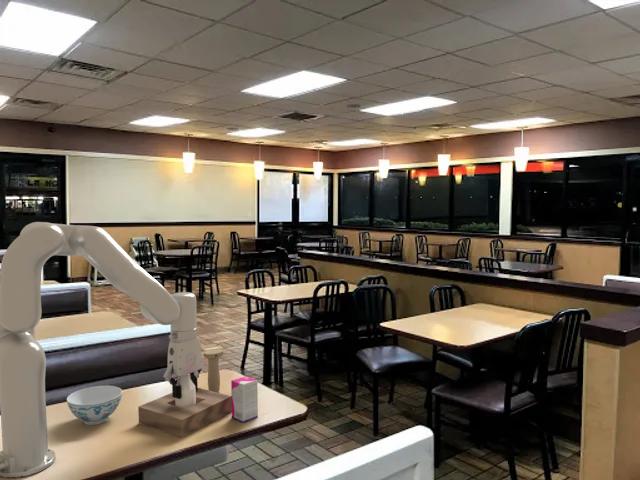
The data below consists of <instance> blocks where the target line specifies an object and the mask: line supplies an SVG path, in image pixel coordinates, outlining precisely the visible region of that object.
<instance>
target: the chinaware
mask: <svg viewBox="0 0 640 480" xmlns="http://www.w3.org/2000/svg"><path fill="white" fill-rule="evenodd" d="M122 396H123V390H122V388H120V387H118V386H115V385H98V386H95V385H94V386H90V387H86V388H82V389H78V390H76V391H74V392H71V393H70V394H69V395H68V396H67V398H66V403H67V407H68V409H69V410H70V412H71V413H72V414H73V416H74V417H76V418H77V419H79V420H80V421H81V420H82V421H83V424H85V425H87V426H94V425H99V424H102V423H105V422H106V421H108V419H109V416H111V415H112V414H114V412H115V411H116V410H117V408H118V407H119V405H120V402H121V400H122Z"/></svg>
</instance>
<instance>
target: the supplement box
mask: <svg viewBox="0 0 640 480" xmlns="http://www.w3.org/2000/svg"><path fill="white" fill-rule="evenodd" d="M230 381H231V382H230V384H231V385H230V386H231V388H230V389H231V391H230V392H231V395H230V396H232V412H231V419H234V420H235V421H238V422H240V423H241V424H244V423H247V422H250V421H252V420H255V419H257V418H258V417H259V412H258V411H259V409H258V408H259V406H258V404H259V402H258V401H259V399H258V395H259V394H258V393H259V391H258V390H259V389H258V380H257V379H254V378H251V377H250V376H247V375H246V376H243V377H239V378H235V379H232V380H230Z"/></svg>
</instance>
